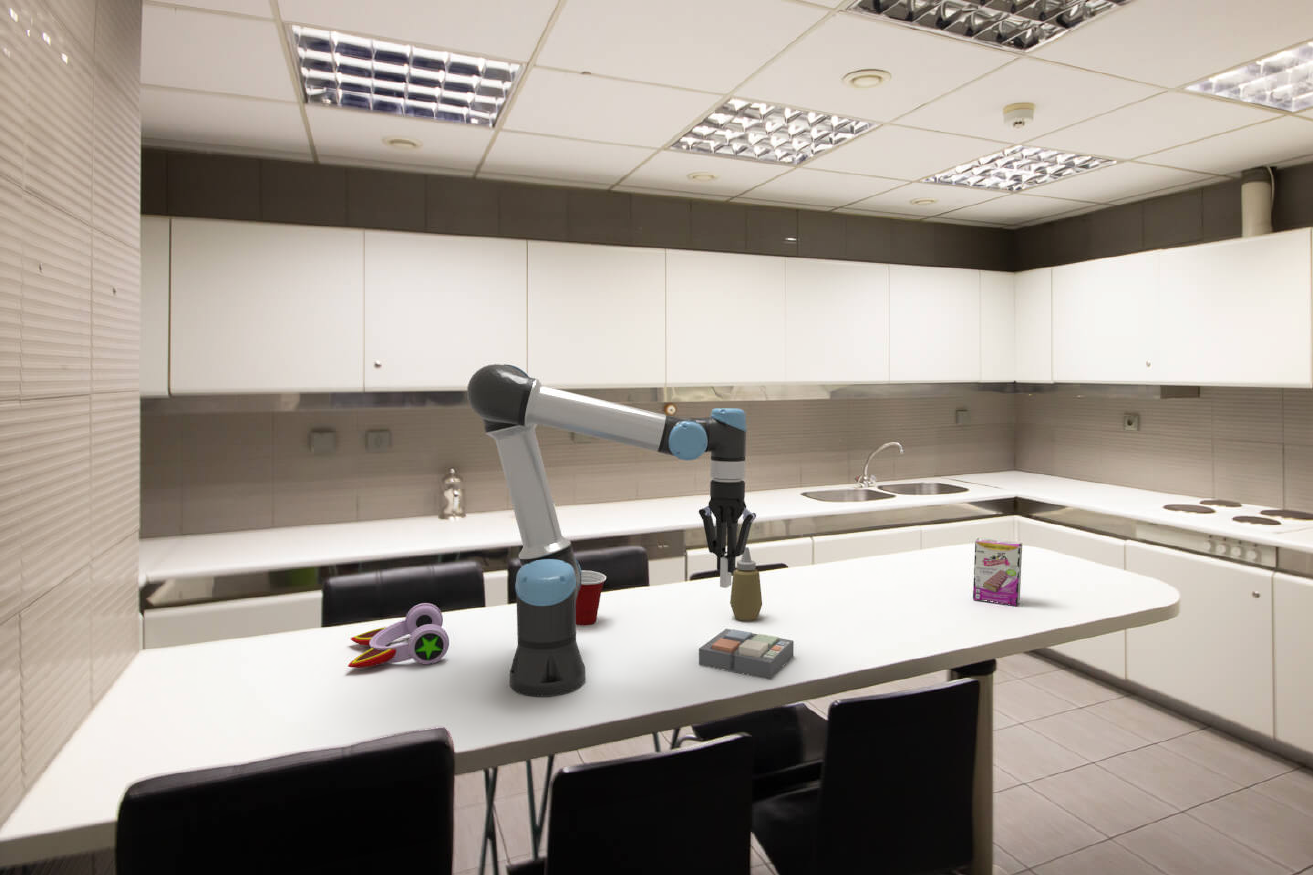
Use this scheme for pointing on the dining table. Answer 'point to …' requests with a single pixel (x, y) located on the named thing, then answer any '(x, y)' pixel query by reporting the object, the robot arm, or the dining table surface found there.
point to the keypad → (747, 658)
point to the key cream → (753, 648)
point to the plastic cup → (589, 597)
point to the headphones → (422, 645)
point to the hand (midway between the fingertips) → (725, 585)
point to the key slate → (738, 635)
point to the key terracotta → (726, 645)
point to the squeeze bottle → (746, 589)
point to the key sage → (766, 639)
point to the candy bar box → (997, 571)
